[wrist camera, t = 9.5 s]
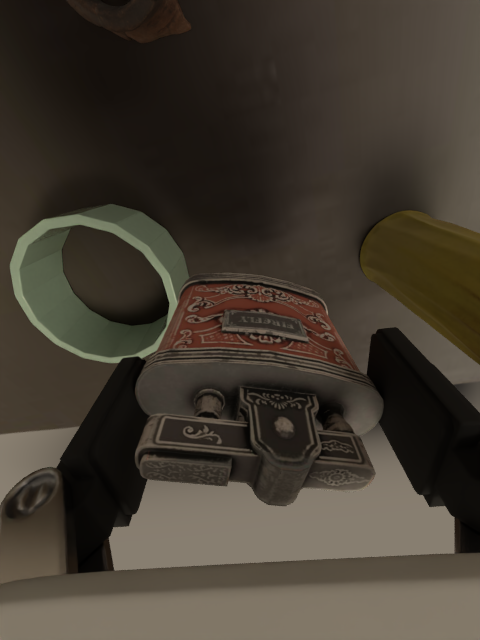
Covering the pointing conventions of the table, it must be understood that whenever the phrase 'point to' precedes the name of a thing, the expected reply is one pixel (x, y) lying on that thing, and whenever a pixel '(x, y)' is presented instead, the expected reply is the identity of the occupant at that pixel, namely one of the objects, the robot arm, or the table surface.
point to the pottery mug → (135, 18)
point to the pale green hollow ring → (67, 309)
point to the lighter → (255, 393)
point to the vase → (429, 273)
